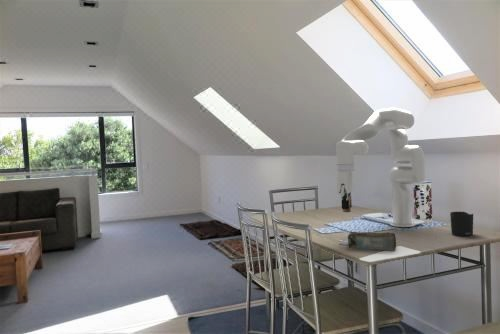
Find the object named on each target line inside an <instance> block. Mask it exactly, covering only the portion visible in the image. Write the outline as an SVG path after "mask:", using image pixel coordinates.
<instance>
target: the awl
mask: <svg viewBox="0 0 500 334" xmlns="http://www.w3.org/2000/svg"><path fill="white" fill-rule="evenodd" d="M345 193H346V192H345ZM348 200H349V209H342V212H343V213H350V212H351V208H350V196H348Z"/></svg>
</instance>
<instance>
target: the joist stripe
mask: <svg viewBox="0 0 500 334" xmlns="http://www.w3.org/2000/svg"><path fill="white" fill-rule="evenodd" d="M337 242H340V243H338V245H340V246H341V245H342V246H348V236H347V237H345V238H344V239H343V240H341V239H340V240H338V241H337Z"/></svg>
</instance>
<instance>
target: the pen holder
mask: <svg viewBox="0 0 500 334" xmlns="http://www.w3.org/2000/svg"><path fill="white" fill-rule="evenodd" d="M450 229H451V230H450V231H451V235H453V236H456V237H472V236H473V235H474V213H468V212H465V211H450Z"/></svg>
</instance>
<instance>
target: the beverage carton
mask: <svg viewBox="0 0 500 334" xmlns="http://www.w3.org/2000/svg"><path fill="white" fill-rule="evenodd" d="M347 237H348V245H347V246H348V249H349V248H352V250H353V249H354V250H370V251H389V252H392V251H393V252H395V250H396V248H397V238H396V233H394V232H388V231H387V232H363V231H362V232H361V231H350V232H349V233H348V235H347Z"/></svg>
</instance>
